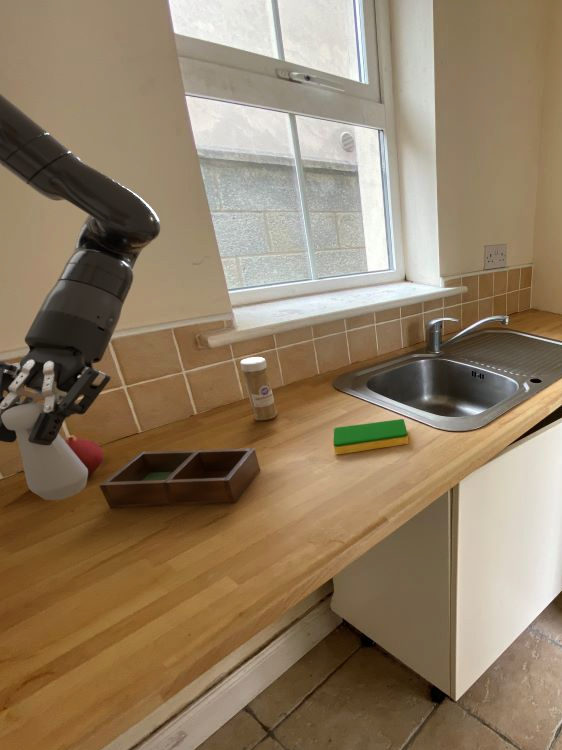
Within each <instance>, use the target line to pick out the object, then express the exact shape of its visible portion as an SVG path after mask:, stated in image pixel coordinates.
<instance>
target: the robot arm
mask: <svg viewBox="0 0 562 750" xmlns="http://www.w3.org/2000/svg"><path fill="white" fill-rule="evenodd" d="M0 165H1V167H4V169H6V170H7V171H8V172H10V173H11V174H12V175H14V176H15V177H17V179H19V180H20V181H22V182H24V184H26V185H28V186H29V187H30V188H31V189H33V190H34V191H36V192H37V193H38V194H40V195H41V196H43V197H45V198H47V199H49V200H52V201H57V202H58V201H59V202H61V201H66V202H69V203H70V204H71V205H73V206H75V207H76V208H78V209H80V210H81V211H83V213H85V214H88V215H87V217H86V218H85V221H84V223H83V225H82V226H81V229H80V231H79V234H78V237H77V240H76V243H75V246H74V250H73V253H72V254H71V255H70V256H69V258H68V259H67V261H66V262H65V265H64V267H63V269H62V271H61V273H60V274H59V277H58V279H57V281H56V282H55V284H54V285H53V287H52V288H51V289H50V291H48V293H47V294H46V296H45V297H44V299H43V302H42V304H41V305H40V308H39V310H38V312H37V314H36V316H35V317H34V319H33V321H32V323H31V325H30V327H29V329H28V330H27V333H26V335H25V337H24V343H25V344H26V345H27V346H28V348H29V351H28V352H27V353H26V354H25V355H24V356H23V357H22V358H21V359H20V361H19V362H15V363H8V362H6V361H3V360H2V361H0V442H3V443H11V444H12V443H15V442H16V441H17V436H16V432H15V431H14V430H9V429H7V428H6V427H5V425H4V423H3V421H2V418H1V415H2V414H3V413H4V412H5V411H6V410H8V409H10V408H12V407H15V406H19V405H23V404H29V403H38V402H41V401H43V400H44V402H43V404H44V408H43V411H44V412H46V413H45V414H44V413H40V415H39V417H38V419H37V421H36V423H35V425H34V427H33V430H32V432H31V434H30V436H29V438H28V441H29V442H30V443H35V444H39V445H47V446H48V445H51V444H52V442H53V441H54V440H55V439H56V437H57V435H58V433H59V434H60V430H61V429H62V427H63V424H64V421H65V419H68V418H70V417H71V416H73V415H76V414H77V415H80V416H81V415H84V414H86V412H87V411H88V410H89V409H90V407H91V406H92V405H93V404H94V402H95V400H96V399H97V398H98V396H99V395H100V394H101V392H103V390H104V389H105V387H106V386H107V385H108V384H109V382H110V381H111V378H112V377H111V375H110V374H107V373H105V372H102V370H101V371H100V370H98V369H95V368H94V365H93V364H97V363H99V362H101V361H102V360H103V357H104V355H105V353H106V350H107V349H108V346H109V343H110V341H111V339H112V337H113V334H114V332H115V330H116V328H117V326H118V323H119V321H120V318H121V313H122V310H123V306H124V304H125V302H126V299H127V297H128V296H129V292H130V290H131V288H132V285H133V282H134V277H135V275H134V270H133V269H134V267H135V264H136V262H137V260H138V258H139V256H140V254H141V253H142V251H143V250H144V248H147V246H149V245H150V244H151V243H153V242H154V241H155V240H156V239H157V238H158V237H159V235H160V233H161V229H162V228H161V227H162V226H161V222H160V219H159V217H158V215H157V213H156V212H155V211H154V209H153V208H152V207H151V206H150V205H149V204H148V203H147V202H146V201H145V200H143V198H141V197H140V196H139V195H137V194H136V193H135V192H134V191H132V190H130V189H129V188H127V187H126V186H124V185H122V184H121V183H119V182H118V181H115V180H114V179H112V178H111V177H109V176H108V175H106V174H104V173H102V172H101V171H99V170H97V169H96V168H94V167H92V166H90V165H89V164H87V163H85V162H84V161H82V160H81V159H80V158H79V157H78V156H77V155H76V154H75V153H73V152H72V151H71V150H70V149H68V148H67V147H66V146H65V145H64V144H62V142H60V141H59V140H58V139H56V138H55V137H54V136H53V135H52V134H50V133H49V132H48V131H47V130H46V129H45V128H43V127H42V126H41V125H39V124H38V123H37V122H36V121H35V120H33V119H32V118H31V117H30V116H28V115H27V114H26V113H25V112H24V111H22V110H21V109H20V108H19V107H17V106H16V105H15V104H14V103H12V102H11V101H10V100H9V99H8V98H7V97H6V96H4V95H3V94H2V93H0ZM25 387H26V388H28V389H26V388H25ZM29 389H31V390H29ZM4 391H5V392H7V395H6V396H4ZM81 396H83V397H82V398H81V400H80V401H79V402H78V403H77V401H78V399H79V398H80V397H81ZM21 397H25V398H24V399H23V400H22V402H21V403H20V401H21Z"/></svg>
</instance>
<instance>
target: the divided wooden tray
mask: <svg viewBox="0 0 562 750" xmlns="http://www.w3.org/2000/svg"><path fill="white" fill-rule="evenodd" d="M260 471H261V468H260V463H259V460H258V456H257V453H256V449H255V448H227V449H225V448H224V449H223V448H222V449H192V450H191V449H188V450H187V449H186V450H157V451H156V450H155V451H151V450H150V451H139V453H137V454H136V455H135V456H134V457H132V458H131V459H130V460H128V461H127V462H126V463H125V464H124V465H122V466H121V467H120V468H119V469H117V470H116V471H115V472H114V473H113V474H111V475H110V476H109V477H107V478H106V479H105V480H104V481H102V482H101V483H100V484H99V488H100V490H101V492H102V494H103V496H104V499H105V501H106V503H107V506H108V507H109V509H110V510H114V509H116V510H117V509H139V508H140V509H141V508H160V507H162V508H163V507H183V506H184V507H185V506H205V505H206V506H207V505H230V504H231V505H232V504H236V503H237V502H238V501H239V499H240V498H241V496H242V495H243V494H244V493H245V491H246V490H247V488H249V486H250V484H251V483H252V481H253V480H254V479H255V478H256V476H257V475H258V474H259V472H260Z"/></svg>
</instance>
